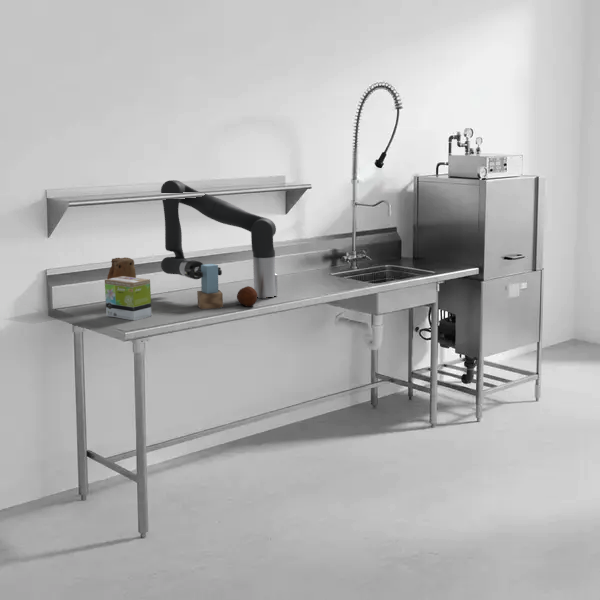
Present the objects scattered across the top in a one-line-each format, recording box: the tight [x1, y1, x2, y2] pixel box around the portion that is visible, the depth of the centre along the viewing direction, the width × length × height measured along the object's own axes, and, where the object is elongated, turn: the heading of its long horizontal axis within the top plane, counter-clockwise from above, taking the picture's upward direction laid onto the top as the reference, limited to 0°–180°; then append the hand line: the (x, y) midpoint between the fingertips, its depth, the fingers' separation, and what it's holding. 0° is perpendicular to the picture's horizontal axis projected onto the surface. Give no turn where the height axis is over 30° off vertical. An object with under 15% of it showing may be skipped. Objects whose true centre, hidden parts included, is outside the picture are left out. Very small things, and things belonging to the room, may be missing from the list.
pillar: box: [200, 263, 219, 294], centre depth 357 cm, size 5×5×11 cm
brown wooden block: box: [196, 289, 224, 310], centre depth 359 cm, size 9×9×6 cm
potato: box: [236, 285, 258, 307], centre depth 359 cm, size 8×12×8 cm, turn 34°
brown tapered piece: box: [106, 257, 137, 279], centre depth 357 cm, size 11×8×20 cm
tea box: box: [104, 276, 152, 321], centre depth 339 cm, size 15×10×15 cm, turn 56°
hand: (211, 273), depth 355 cm, fingers open, 8 cm apart
